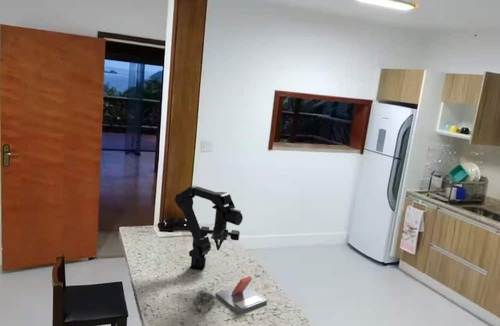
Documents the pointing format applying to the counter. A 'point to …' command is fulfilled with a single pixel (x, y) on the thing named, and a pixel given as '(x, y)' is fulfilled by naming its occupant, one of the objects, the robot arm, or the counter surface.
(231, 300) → the base
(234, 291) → the lever
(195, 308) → the grey lumpy stone piece
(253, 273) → the counter surface
